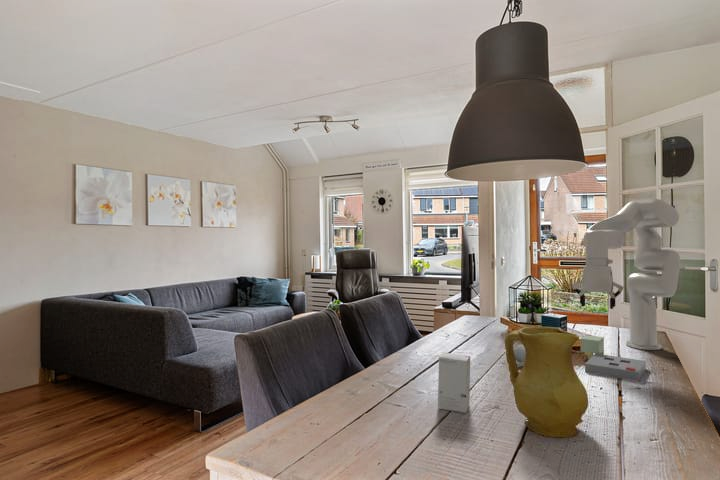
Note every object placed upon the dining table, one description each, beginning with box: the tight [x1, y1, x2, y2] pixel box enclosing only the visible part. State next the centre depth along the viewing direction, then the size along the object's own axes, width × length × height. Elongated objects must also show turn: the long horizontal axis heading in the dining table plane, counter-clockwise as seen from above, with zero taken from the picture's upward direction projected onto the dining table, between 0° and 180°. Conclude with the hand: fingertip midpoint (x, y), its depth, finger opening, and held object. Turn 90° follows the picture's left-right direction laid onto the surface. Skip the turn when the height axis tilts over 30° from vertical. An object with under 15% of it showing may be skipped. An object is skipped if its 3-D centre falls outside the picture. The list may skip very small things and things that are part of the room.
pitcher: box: [504, 325, 589, 438], centre depth 108 cm, size 17×19×25 cm
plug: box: [579, 334, 605, 361], centre depth 165 cm, size 8×7×8 cm
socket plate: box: [584, 353, 647, 382], centre depth 149 cm, size 16×16×4 cm
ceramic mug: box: [513, 343, 526, 368], centre depth 157 cm, size 11×8×8 cm
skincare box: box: [437, 352, 471, 414], centre depth 120 cm, size 8×6×15 cm
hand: (597, 307), depth 160 cm, fingers open, 9 cm apart
